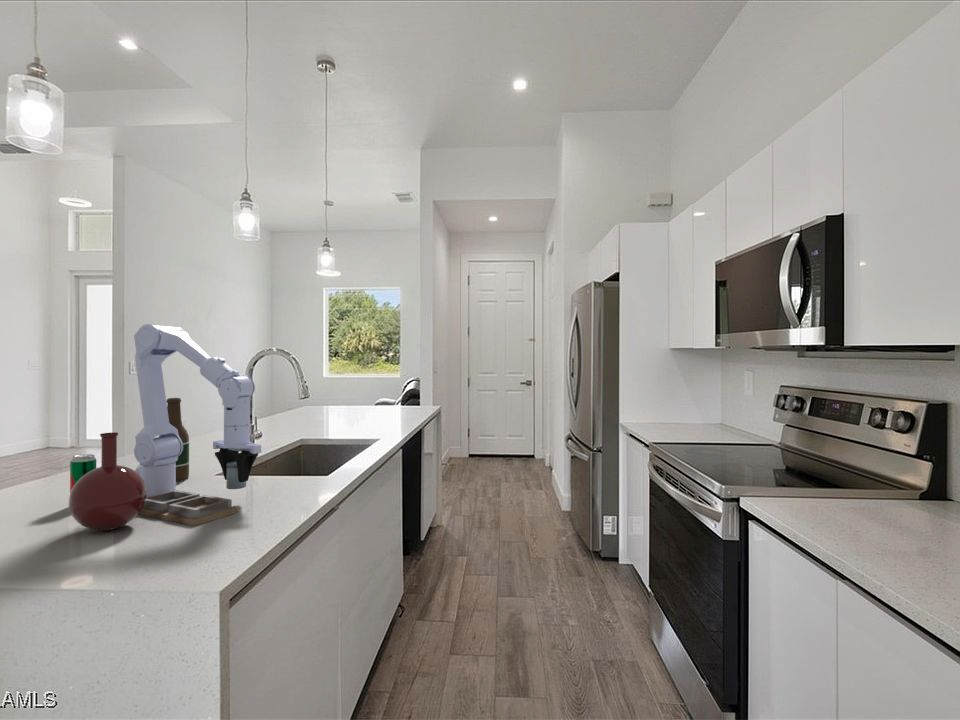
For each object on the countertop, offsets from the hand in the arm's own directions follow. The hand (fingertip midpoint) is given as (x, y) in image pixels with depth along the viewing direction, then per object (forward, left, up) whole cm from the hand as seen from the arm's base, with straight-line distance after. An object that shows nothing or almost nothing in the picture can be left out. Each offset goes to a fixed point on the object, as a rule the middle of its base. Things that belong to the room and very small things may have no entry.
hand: (236, 480), depth 125 cm
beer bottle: (-37, +9, -6) cm, 38 cm away
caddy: (-5, -10, -6) cm, 13 cm away
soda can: (-32, -17, -6) cm, 37 cm away
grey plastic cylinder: (0, 0, -2) cm, 2 cm away
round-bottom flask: (-8, -24, -6) cm, 26 cm away
